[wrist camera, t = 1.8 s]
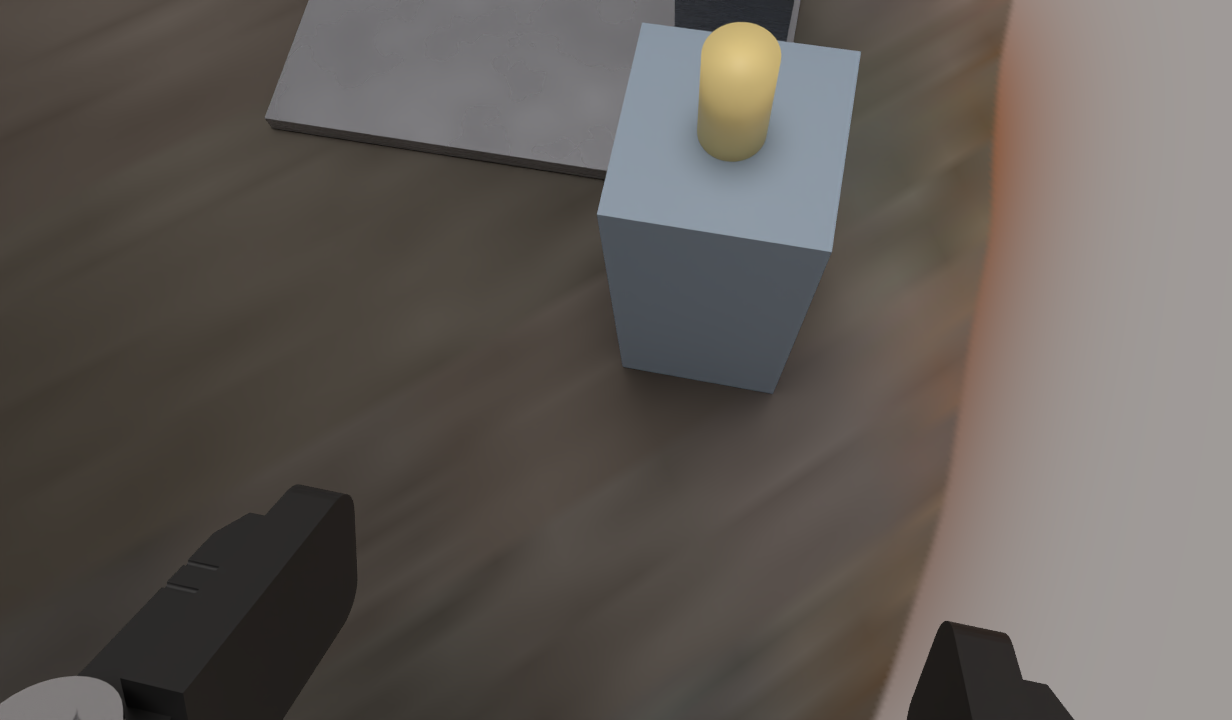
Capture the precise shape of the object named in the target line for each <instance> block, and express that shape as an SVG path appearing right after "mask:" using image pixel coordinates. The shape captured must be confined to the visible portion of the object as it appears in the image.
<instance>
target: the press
mask: <svg viewBox="0 0 1232 720" xmlns="http://www.w3.org/2000/svg"><path fill="white" fill-rule="evenodd" d="M800 1H801V0H309V1H308V4H307V6H306V9H305V12H304V14H303V17H302V20H301V22H300V25H299V28H298V30H297V33H296V36H295V38H294V41H293V44H292V46H291V49H290V52H289V54H288V57H287V60H286V62H285V65H284V68H283V70H282V73H281V76H280V78H279V81H278V84H277V86H276V89H275V92H274V94H273V97H272V100H271V102H270V105H269V108H268V111H267V113H266V116H265V119H266V121H267V122H268V123H269V124H270V126H271V127H272V128H275V129H281V130H288V131H294V132H301V133H307V134H314V135H320V136H327V137H333V138H339V139H346V140H352V141H359V142H365V143H372V144H378V145H385V146H391V147H398V148H404V149H410V150H417V151H423V152H430V153H436V154H443V155H449V156H456V157H462V158H468V159H475V160H481V161H488V162H494V163H501V164H507V165H514V166H520V167H527V168H533V169H539V170H546V171H552V172H559V173H565V174H572V175H578V176H585V177H591V178H597V179H604V180H605V178H606V174H607V170H608V165H609V161H610V157H611V153H612V148H613V144H614V140H615V136H616V131H617V127H618V123H619V119H620V114H621V110H622V106H623V102H624V98H625V93H626V89H627V85H628V81H629V76H630V72H631V68H632V64H633V59H634V55H635V51H636V47H637V42H638V38H639V34H640V30H641V25H642V23H649V24H657V25H664V26H672V27H679V28H687V29H694V30H702V31H709V32H713V31H715V30H716V29H718V28H719V27H721V26H724V25H726V24H730V23H735V22H748V23H753V24H756V25H759V26H761V27H763V28H765V29H766V30H768V31H769V32H770V33H771V34H772V35H773V36H774V37H775V38H776V40H777V41H785V42H792V43H793V41H794V35H795V29H796V24H797V18H798V12H799V6H800Z"/></svg>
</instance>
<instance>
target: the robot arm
mask: <svg viewBox="0 0 1232 720" xmlns="http://www.w3.org/2000/svg"><path fill="white" fill-rule="evenodd" d="M356 588H357V559H356V537H355V514H354V503H353V500H352V498H351V497H350V495H347V494H343V493H338V492H333V491H328V490H323V489H318V488H314V487H309V486H304V485H294V486H292V487H291V488H290V489H289V490H288V491H287V492H286V493H285V494H284V495H283V496H282V497H281V498H280V500H279V501H278V502H277V503H276V504H275V505H274V506H273V507H272V508H271V510H270V511H269V512H268V513H267V514H266V515H265V516H263V515H258V514H254V513H248V514H247V515H245V516H243V517H241V518H240V519H238V520H236V521H234V522H232V523H231V524H229V525H227V526H225V527H223V528H222V529H220V530H218V531H216V532H215V533H213V534H212V535H211V536H210V537H209V538H208V540H207V541H206V542H205V543H204V544H203V545H202V546H201V547H200V548H199V549H198V550H197V551H196V552H195V553H194V554H193V555H192V556H191V557H190V558H189V559H188V564H187V565H186V566H185V565H183V566H182V567H181V568H180V569H179V570H178V571H177V572H176V573H175V574H174V575H173V576H172V577H171V578H170V579H169V580H168V581H167V586H166V587H165V588H161V589H160V590H159V591H158V592H157V593H156V594H155V595H154V596H153V597H152V598H151V599H150V600H149V601H148V602H147V604H146V605H145V606H144V607H143V608H142V609H141V610H140V611H139V612H138V613H137V614H136V615H135V616H134V617H133V618H132V619H131V620H130V621H129V622H128V623H127V624H126V626H125V627H124V628H123V629H122V630H121V631H120V632H119V633H118V634H117V635H116V636H115V637H114V638H113V639H112V640H111V641H110V642H109V643H108V644H107V645H106V647H105V648H104V649H103V650H102V651H101V652H100V653H99V654H98V655H97V656H96V657H95V658H94V659H93V660H92V661H91V662H90V663H89V664H88V665H87V666H86V668H85V669H84V670H83V671H82V672H80V673H79V674H78V675H77V676H70V677H61V678H56V679H51V680H48V681H44V682H41V683H38V684H35V685H33V686H31V687H28V688H26V689H24V690H22V691H20V692H18V693H16V694H14V695H13V696H11V697H10V698H8V699H7V700H5V701H3V702H2V703H1V704H0V720H283V718H284V716H285V715H286V713H287V712H288V710H289V709H290V707H291V706H292V704H293V703H294V701H295V699H296V698H297V696H298V695H299V693H300V692H301V690H302V689H303V687H304V686H305V684H306V682H307V681H308V679H309V678H310V676H311V675H312V673H313V672H314V670H315V668H316V667H317V665H318V664H319V662H320V661H321V659H322V658H323V656H324V655H325V653H326V651H327V650H328V648H329V647H330V645H331V644H332V642H333V641H334V639H335V638H336V636H337V634H338V633H339V631H340V630H341V628H342V627H343V625H344V623H345V622H346V620H347V618H348V615H349V613H350V611H351V608H352V605H353V601H354V598H355V594H356ZM907 720H1074V719H1073V718H1072V716H1071V715H1070V714H1069V712H1068V711H1067V710H1066V709H1065V707H1064V706H1063V705H1062V704H1061V702H1060V701H1059V699H1058V698H1057V697H1056V696H1055V694H1054V693H1053V692H1052V690H1051V689H1050V688H1049V686H1048V685H1046V684H1041V683H1037V682H1032V681H1027V680H1023V679H1022V675H1021V672H1020V668H1019V665H1018V662H1017V658H1016V655H1015V651H1014V648H1013V645H1012V642H1011V640H1010V638H1009V636H1008V635H1007V634H1006V633H1002V632H998V631H993V630H988V629H983V628H978V627H974V626H969V625H964V624H959V623H954V622H950V621H944V622H943V623H942V624H941V626H940V627H939V629H938V631H937V634H936V636H935V639H934V642H933V644H932V647H931V649H930V652H929V655H928V658H927V660H926V663H925V666H924V668H923V671H922V674H921V676H920V679H919V681H918V684H917V687H916V690H915V693H914V695H913V697H912V700H911V703H910V707H909V711H908V716H907Z"/></svg>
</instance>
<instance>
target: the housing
mask: <svg viewBox="0 0 1232 720" xmlns="http://www.w3.org/2000/svg"><path fill="white" fill-rule="evenodd" d="M860 54H861V52H860V51H852V50H845V49H837V48H830V47H822V46H815V45H807V44H800V43H792V42H785V41H777V40H776V38H775V37H774V36H773V35H772V34H771V33H770V32H769V31H768V30H766V29H765V28H763V27H761V26H759V25H756V24H753V23H748V22H735V23H730V24H726V25H724V26H721V27H719V28H718V29H716V30H715V31H713V32H709V31H702V30H694V29H687V28H679V27H672V26H664V25H657V24H649V23H642V25H641V30H640V34H639V38H638V42H637V47H636V51H635V55H634V59H633V64H632V68H631V72H630V76H629V81H628V85H627V89H626V93H625V98H624V102H623V106H622V110H621V114H620V119H619V123H618V127H617V131H616V136H615V140H614V144H613V148H612V153H611V157H610V161H609V165H608V170H607V174H606V178H605V182H604V187H603V191H602V195H601V199H600V204H599V208H598V212H597V218H598V224H599V230H600V236H601V241H602V247H603V253H604V259H605V265H606V271H607V277H608V283H609V289H610V294H611V300H612V306H613V312H614V318H615V324H616V330H617V336H618V342H619V348H620V353H621V359H622V365H623V367H627V368H632V369H638V370H643V371H649V372H654V373H660V374H665V375H671V376H676V377H682V378H688V379H693V380H699V381H704V382H710V383H715V384H721V385H726V386H732V387H737V388H743V389H749V390H754V391H760V392H765V393H771V394H773V393H774V390H775V388H776V385H777V383H778V380H779V378H780V376H781V373H782V371H783V368H784V366H785V364H786V361H787V359H788V356H789V354H790V351H791V349H792V347H793V344H794V342H795V339H796V337H797V335H798V332H799V330H800V327H801V325H802V322H803V320H804V318H805V315H806V313H807V310H808V308H809V306H810V303H811V301H812V298H813V296H814V293H815V291H816V289H817V286H818V284H819V281H820V279H821V277H822V274H823V272H824V269H825V267H826V264H827V262H828V260H829V257H830V255H831V252H832V246H833V239H834V232H835V225H836V219H837V212H838V205H839V198H840V191H841V184H842V177H843V171H844V164H845V157H846V150H847V143H848V136H849V129H850V123H851V116H852V109H853V102H854V95H855V88H856V81H857V74H858V68H859V61H860Z"/></svg>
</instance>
